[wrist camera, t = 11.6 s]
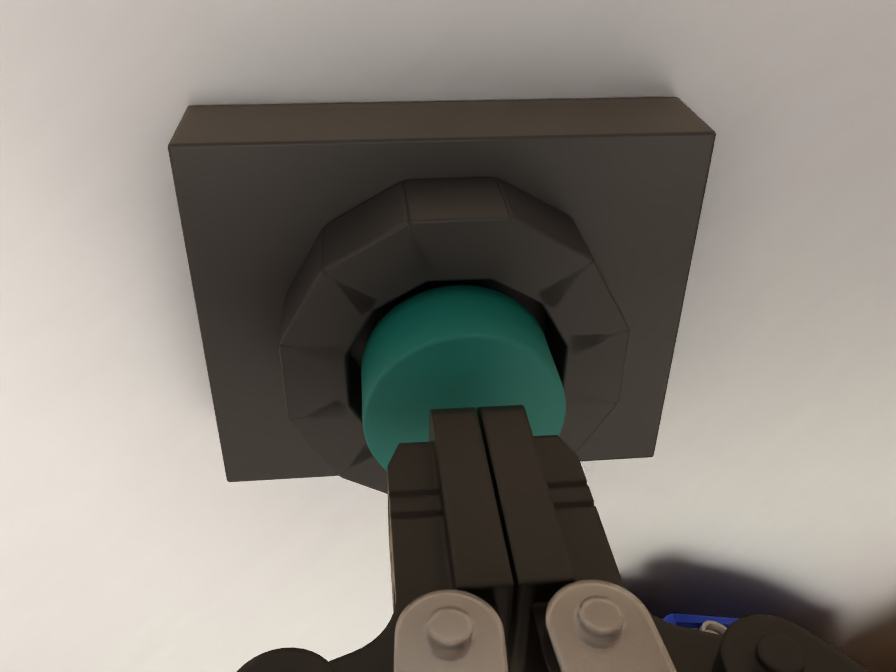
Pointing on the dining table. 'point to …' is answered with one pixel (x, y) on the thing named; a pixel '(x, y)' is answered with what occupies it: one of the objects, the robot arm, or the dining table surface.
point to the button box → (433, 256)
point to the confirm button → (455, 365)
